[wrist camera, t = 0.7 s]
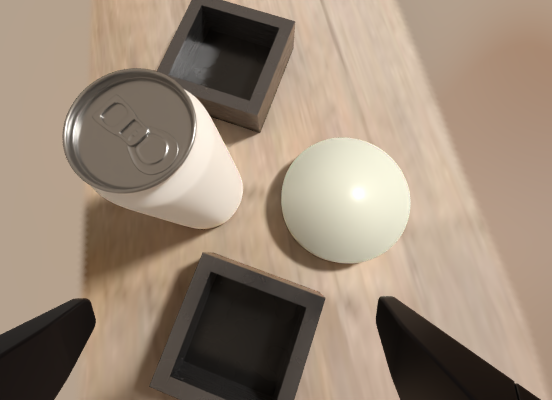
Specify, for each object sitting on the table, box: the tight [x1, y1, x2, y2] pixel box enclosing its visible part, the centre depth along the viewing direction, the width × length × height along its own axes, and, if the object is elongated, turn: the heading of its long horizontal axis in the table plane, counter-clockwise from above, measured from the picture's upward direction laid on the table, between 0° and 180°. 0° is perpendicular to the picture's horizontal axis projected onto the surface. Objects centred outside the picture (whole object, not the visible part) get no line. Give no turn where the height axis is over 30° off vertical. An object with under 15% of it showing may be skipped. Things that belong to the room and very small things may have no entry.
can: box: [63, 68, 243, 229], centre depth 17 cm, size 6×6×12 cm
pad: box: [281, 138, 410, 263], centre depth 22 cm, size 10×10×2 cm
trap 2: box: [149, 253, 325, 400], centre depth 20 cm, size 9×9×3 cm
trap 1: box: [157, 0, 295, 133], centre depth 24 cm, size 9×9×3 cm
